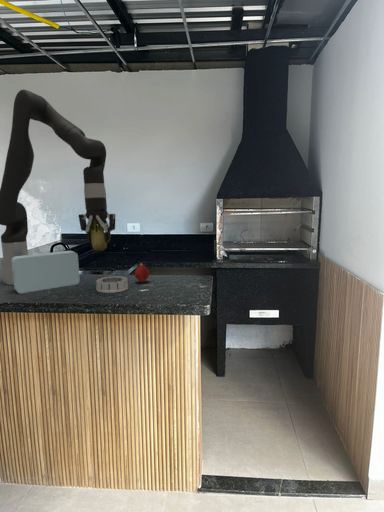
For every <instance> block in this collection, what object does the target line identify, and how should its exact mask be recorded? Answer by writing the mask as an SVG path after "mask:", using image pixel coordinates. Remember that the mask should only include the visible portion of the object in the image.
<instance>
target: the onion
mask: <svg viewBox="0 0 384 512" xmlns="http://www.w3.org/2000/svg"><path fill="white" fill-rule="evenodd" d="M134 277H135V279H136V280H138V281H139V282H140V283H145V281H147V280H148V278H149V277H150V271H149V269H148V268H147V267H146V266H145V265H144V264H143V263H139V266H138V267H136V268H135V271H134Z"/></svg>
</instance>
